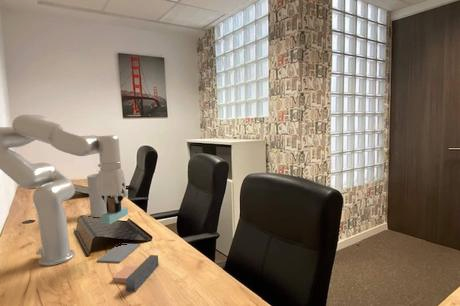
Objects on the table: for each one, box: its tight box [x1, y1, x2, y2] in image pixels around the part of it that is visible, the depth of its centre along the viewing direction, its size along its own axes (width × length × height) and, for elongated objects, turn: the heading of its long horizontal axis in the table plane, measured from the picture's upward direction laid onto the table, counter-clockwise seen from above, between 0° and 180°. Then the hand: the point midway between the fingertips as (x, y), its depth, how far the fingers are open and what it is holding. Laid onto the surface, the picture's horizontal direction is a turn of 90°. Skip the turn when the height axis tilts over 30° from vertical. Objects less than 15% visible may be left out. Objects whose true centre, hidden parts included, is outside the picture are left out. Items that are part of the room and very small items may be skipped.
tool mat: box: [96, 243, 141, 264], centre depth 119 cm, size 10×16×1 cm, turn 169°
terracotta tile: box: [112, 265, 139, 284], centre depth 100 cm, size 8×8×2 cm
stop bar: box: [125, 254, 160, 293], centre depth 98 cm, size 3×17×4 cm, turn 169°
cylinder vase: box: [86, 173, 108, 219], centre depth 173 cm, size 12×12×25 cm
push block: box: [99, 196, 129, 225], centre depth 115 cm, size 4×12×9 cm, turn 166°
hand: (114, 211), depth 115 cm, fingers closed on push block, 3 cm apart
